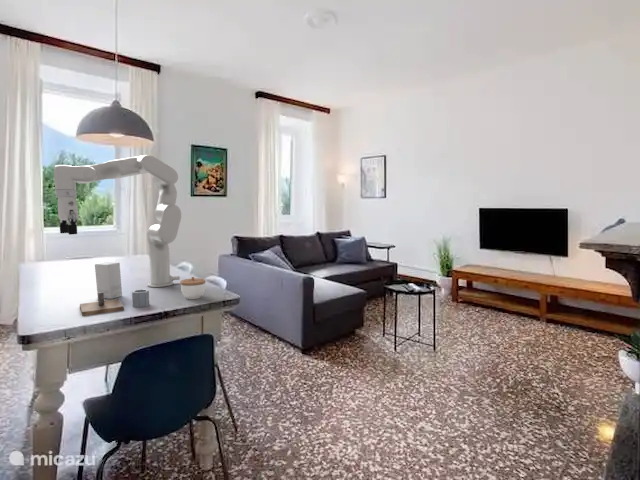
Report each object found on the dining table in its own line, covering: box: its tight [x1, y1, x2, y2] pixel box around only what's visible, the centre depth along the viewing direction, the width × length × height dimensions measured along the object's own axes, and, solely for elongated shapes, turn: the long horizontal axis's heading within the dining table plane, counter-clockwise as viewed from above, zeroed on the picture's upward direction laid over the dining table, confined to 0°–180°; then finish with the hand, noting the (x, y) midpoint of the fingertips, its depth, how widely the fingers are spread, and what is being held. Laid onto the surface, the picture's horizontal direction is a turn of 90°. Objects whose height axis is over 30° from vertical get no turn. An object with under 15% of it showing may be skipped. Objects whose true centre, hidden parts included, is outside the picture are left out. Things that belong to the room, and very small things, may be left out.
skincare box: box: [94, 261, 123, 300], centre depth 170 cm, size 8×7×16 cm
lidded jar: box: [180, 276, 206, 300], centre depth 170 cm, size 11×11×9 cm
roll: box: [131, 288, 150, 308], centre depth 157 cm, size 6×6×6 cm
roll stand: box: [79, 292, 125, 317], centre depth 151 cm, size 14×14×6 cm
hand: (68, 233), depth 164 cm, fingers open, 9 cm apart
